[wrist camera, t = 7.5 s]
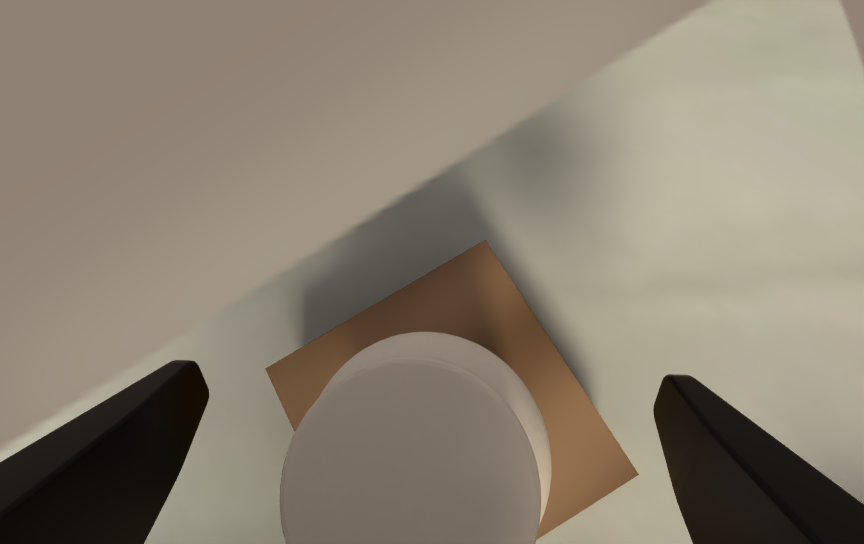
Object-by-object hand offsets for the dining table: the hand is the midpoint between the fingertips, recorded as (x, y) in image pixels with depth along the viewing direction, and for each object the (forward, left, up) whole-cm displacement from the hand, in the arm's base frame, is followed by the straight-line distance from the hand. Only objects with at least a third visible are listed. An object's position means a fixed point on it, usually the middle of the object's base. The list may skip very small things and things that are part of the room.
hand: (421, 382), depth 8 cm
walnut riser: (-1, 0, -12) cm, 12 cm away
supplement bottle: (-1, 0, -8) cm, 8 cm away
